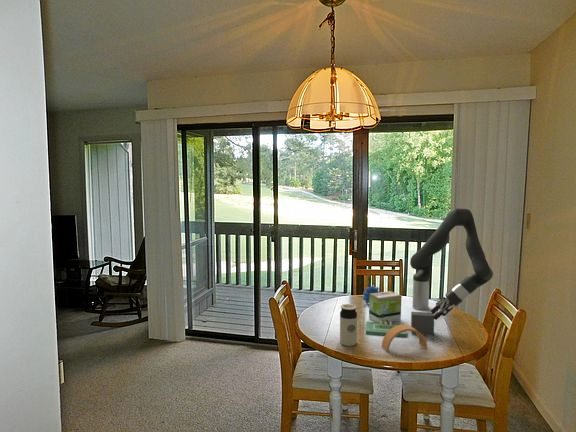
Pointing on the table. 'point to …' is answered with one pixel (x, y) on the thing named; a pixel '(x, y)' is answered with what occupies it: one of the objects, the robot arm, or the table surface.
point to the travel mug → (348, 325)
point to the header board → (382, 328)
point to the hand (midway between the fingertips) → (432, 315)
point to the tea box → (385, 307)
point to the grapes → (370, 292)
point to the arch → (399, 329)
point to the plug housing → (422, 323)
